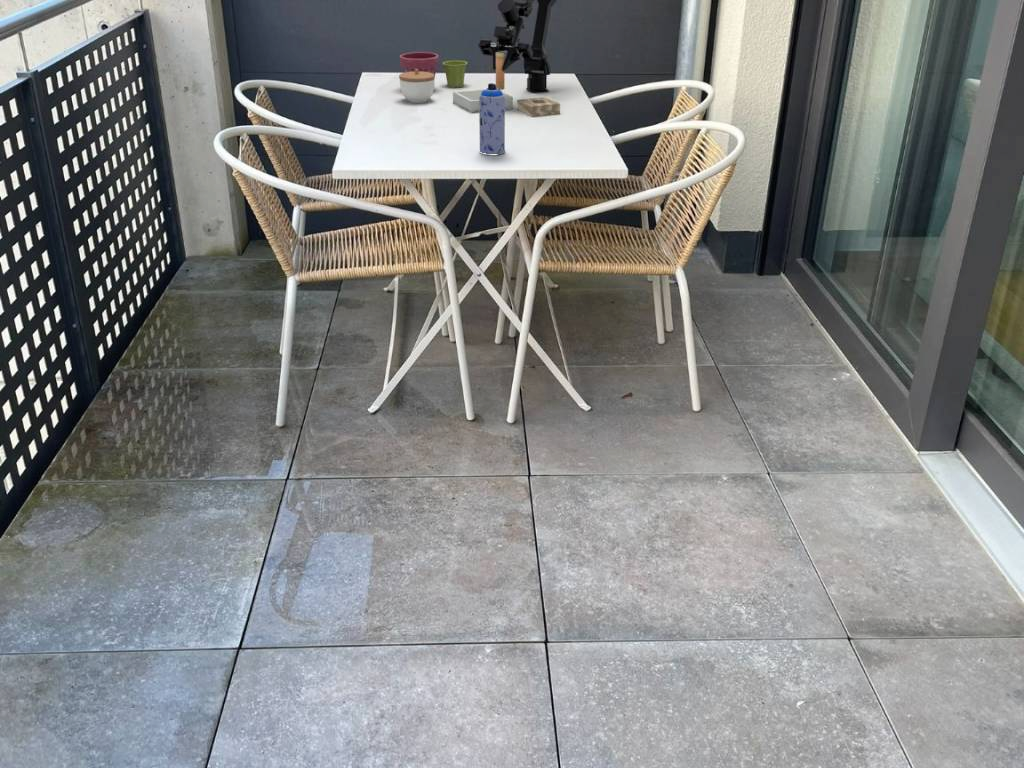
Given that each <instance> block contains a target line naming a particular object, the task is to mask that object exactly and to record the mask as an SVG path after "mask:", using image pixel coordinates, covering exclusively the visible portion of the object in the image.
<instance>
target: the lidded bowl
mask: <svg viewBox="0 0 1024 768" xmlns="http://www.w3.org/2000/svg"><path fill="white" fill-rule="evenodd" d="M398 78H399V86H400V87H399V88H400V91H401V93H402V94H401V95H403V97H404V98H405V99H406V100H407V102H409V103H413V104H422V103H427V102H428V101H429V100H430V98H431V97H432V95H433V93H434V90H435V79H434V78H436V74H435V75H434V74H433V73H430V72H420V71H418V69H415V72H405V73H404V72H403V73H400V74H399V75H398ZM426 101H427V102H426Z"/></svg>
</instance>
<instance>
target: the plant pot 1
mask: <svg viewBox="0 0 1024 768" xmlns="http://www.w3.org/2000/svg"><path fill="white" fill-rule="evenodd" d="M399 63H400V67H401V68H402V70H403V73H405V72H415V69H418V71H420V72H430V73H433V74H434V75H435V76H436V72H437V68H438V67H439V66H440V65H439V63H440V60H439V54H437V53H435V52H429V51H412V52H406V53H402V54H400V55H399ZM435 78H436V77H435ZM435 78H434V80H435Z"/></svg>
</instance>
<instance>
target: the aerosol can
mask: <svg viewBox="0 0 1024 768" xmlns="http://www.w3.org/2000/svg"><path fill="white" fill-rule="evenodd" d="M484 89H485V90H483V91H482V93H481V94H480V97H479V112H478V114H479V118H478V119H479V121H478V122H479V150H480V152H482V153H486V154H502V153H504V154H505V153H506V149H505V147H506V146H505V145H506V144H505V143H506V142H505V140H506V139H505V138H506V137H505V136H506V133H505V128H506V127H505V126H506V117H505V115H506V114H505V113H506V109H505V97H504V94H503V93H504V92H503V90H499V89H498V88H496V83H488V85H487V87H486V88H484ZM502 92H503V93H502ZM502 155H503V154H502Z"/></svg>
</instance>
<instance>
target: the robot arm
mask: <svg viewBox="0 0 1024 768" xmlns="http://www.w3.org/2000/svg"><path fill="white" fill-rule="evenodd" d="M535 1H537V2H536V3H537V5H538V6H537V11H536V19H535V23H534V31H533V38H532V43H531V44H530V43H529V42H521V41H520V35H521V32H522V30H524V29H525V24H524V21H525V20H524V19H523V18H529V17H530V16H531V14H532V11H533V3H535ZM557 1H558V0H501V1H500V2H498V4H497V9H498V12H499V13H500V16H501V18H502V21H503V22H505V25H504V26H498V25H497V26H494V31H493V37H495V38H496V39H495V40H496V42H493V41H492V39H484V38H481V39H480V40H479V41H478V44H477V45H478V48H479V50H480V52H481V53H482V55H484V56H490V57H492V70H493V71H496V52H504V53H506V57H505V61H504V64H503V67H502V71H504V72H505V71H506V70H507V69H509V67H510V66H511V65H513V64H514V63H515V62H517V61H520V60H521V57H520V56H522V59H523V70H524V74H525V75H526V74H527V75H528V77H527V78H526V89H525V90H526V91H529V92H531V93H542V92H543V93H544V92H545V93H546V92H549V89H547V86H548V85H547V83H548V79H547V76H550V75H551V71H552V67H551V65H550V62H549V61H548V53H547V50H546V48H545V47H546V42H547V36H548V30H549V29H548V28H549V24H550V23H549V22H550V17H551V11H552V8H553V6H554V5H555V4H556V2H557Z"/></svg>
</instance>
